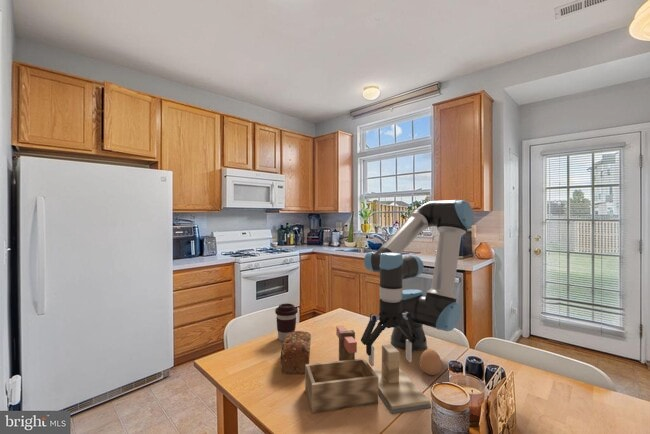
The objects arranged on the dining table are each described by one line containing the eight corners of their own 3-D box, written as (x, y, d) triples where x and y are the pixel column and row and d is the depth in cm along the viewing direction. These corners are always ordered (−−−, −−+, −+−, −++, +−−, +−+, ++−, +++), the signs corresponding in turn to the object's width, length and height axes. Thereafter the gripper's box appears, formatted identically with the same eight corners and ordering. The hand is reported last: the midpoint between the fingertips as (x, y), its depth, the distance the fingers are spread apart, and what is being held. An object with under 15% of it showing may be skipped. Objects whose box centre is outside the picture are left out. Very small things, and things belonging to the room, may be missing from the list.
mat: (398, 369, 110) (398, 368, 110) (432, 407, 88) (432, 406, 88) (364, 373, 107) (364, 372, 107) (391, 413, 86) (391, 412, 86)
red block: (343, 334, 118) (343, 325, 118) (356, 352, 103) (356, 342, 103) (336, 334, 118) (336, 325, 118) (348, 353, 102) (348, 342, 102)
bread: (309, 375, 106) (309, 347, 106) (278, 375, 106) (279, 347, 106) (311, 351, 124) (311, 327, 124) (285, 351, 124) (285, 327, 124)
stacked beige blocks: (429, 403, 89) (429, 367, 89) (391, 409, 87) (392, 371, 87) (398, 369, 109) (398, 339, 109) (366, 373, 106) (367, 342, 106)
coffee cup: (301, 337, 138) (301, 304, 138) (287, 345, 130) (288, 310, 130) (284, 332, 144) (285, 301, 143) (270, 339, 135) (270, 306, 135)
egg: (425, 366, 113) (425, 343, 112) (445, 374, 107) (445, 350, 107) (415, 373, 107) (416, 349, 107) (435, 381, 102) (435, 356, 102)
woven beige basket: (354, 367, 111) (355, 329, 111) (378, 403, 90) (378, 357, 90) (300, 373, 106) (301, 334, 106) (312, 413, 85) (312, 363, 85)
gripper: (418, 294, 108) (417, 353, 108) (351, 298, 102) (351, 360, 102) (430, 300, 101) (429, 363, 101) (359, 304, 95) (358, 372, 95)
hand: (390, 362), depth 102 cm, fingers open, 13 cm apart
